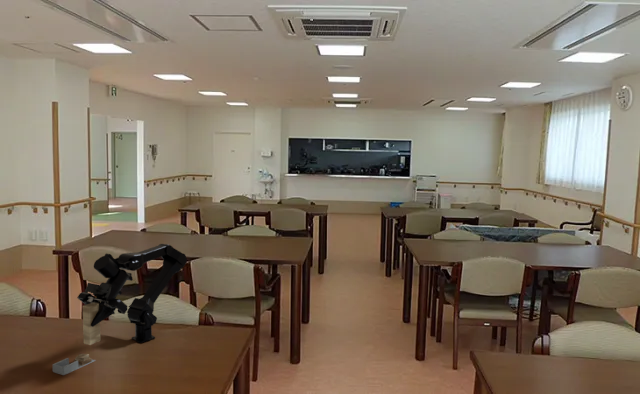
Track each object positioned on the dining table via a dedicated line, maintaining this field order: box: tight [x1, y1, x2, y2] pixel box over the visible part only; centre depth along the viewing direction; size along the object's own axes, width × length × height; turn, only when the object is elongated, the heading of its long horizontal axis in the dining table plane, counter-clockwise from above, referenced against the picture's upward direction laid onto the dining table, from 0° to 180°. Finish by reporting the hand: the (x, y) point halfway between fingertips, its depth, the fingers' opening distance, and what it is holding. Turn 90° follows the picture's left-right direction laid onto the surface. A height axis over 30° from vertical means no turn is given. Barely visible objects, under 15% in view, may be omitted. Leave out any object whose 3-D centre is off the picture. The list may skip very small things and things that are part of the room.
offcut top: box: [75, 353, 90, 361], centre depth 159 cm, size 3×3×1 cm
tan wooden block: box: [82, 302, 101, 346], centre depth 162 cm, size 4×3×13 cm
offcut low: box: [73, 356, 93, 367], centre depth 159 cm, size 4×4×1 cm
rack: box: [52, 357, 97, 376], centre depth 157 cm, size 12×5×4 cm, turn 155°
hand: (88, 325), depth 160 cm, fingers closed on tan wooden block, 3 cm apart
